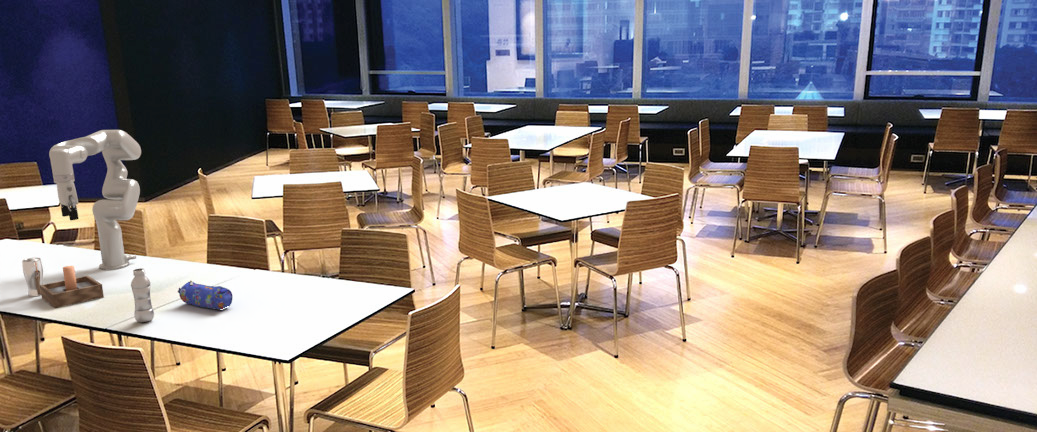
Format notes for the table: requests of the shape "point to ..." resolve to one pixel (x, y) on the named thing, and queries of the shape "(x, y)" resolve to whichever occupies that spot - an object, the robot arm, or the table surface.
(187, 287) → the pencil case
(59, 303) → the bore box
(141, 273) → the plastic bottle
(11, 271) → the table surface
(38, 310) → the table surface
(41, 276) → the beer glass
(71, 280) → the peg
